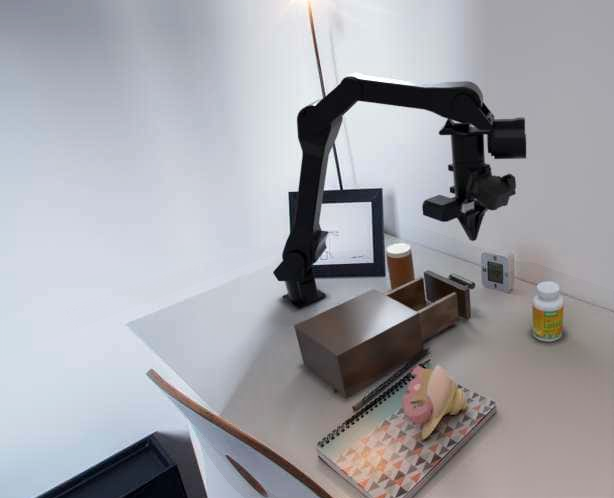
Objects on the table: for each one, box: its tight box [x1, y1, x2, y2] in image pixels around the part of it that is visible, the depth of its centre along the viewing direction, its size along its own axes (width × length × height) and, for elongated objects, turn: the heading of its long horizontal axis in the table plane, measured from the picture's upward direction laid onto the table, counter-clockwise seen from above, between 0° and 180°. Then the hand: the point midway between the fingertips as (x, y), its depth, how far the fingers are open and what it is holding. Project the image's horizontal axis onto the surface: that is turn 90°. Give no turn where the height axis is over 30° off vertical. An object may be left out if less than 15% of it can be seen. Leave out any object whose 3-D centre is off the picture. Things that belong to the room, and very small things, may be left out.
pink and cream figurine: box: [401, 364, 469, 440], centre depth 75 cm, size 9×10×10 cm
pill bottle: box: [385, 242, 416, 291], centre depth 107 cm, size 5×5×10 cm
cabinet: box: [293, 288, 425, 399], centre depth 88 cm, size 16×13×8 cm
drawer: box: [383, 269, 476, 342], centre depth 97 cm, size 19×11×6 cm, turn 137°
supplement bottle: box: [531, 280, 565, 343], centre depth 93 cm, size 5×5×10 cm
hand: (472, 240), depth 101 cm, fingers closed
